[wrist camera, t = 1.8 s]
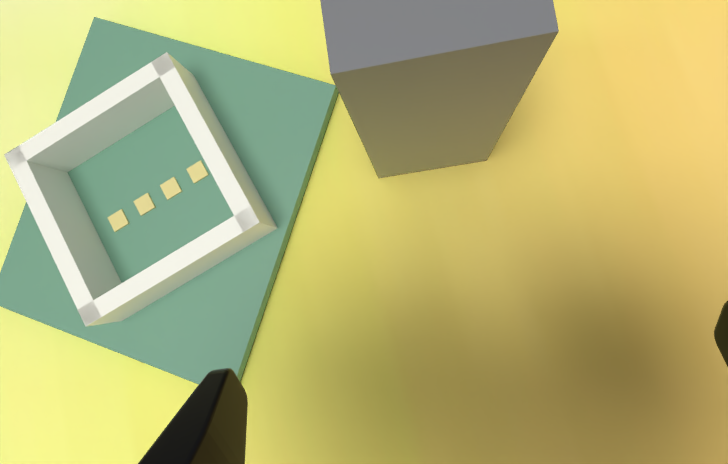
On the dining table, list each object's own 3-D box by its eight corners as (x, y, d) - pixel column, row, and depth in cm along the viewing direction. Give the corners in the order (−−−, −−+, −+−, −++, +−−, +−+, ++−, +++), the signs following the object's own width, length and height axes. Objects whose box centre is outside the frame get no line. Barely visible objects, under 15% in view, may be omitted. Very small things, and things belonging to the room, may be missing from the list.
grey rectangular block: (486, 160, 22) (558, 31, 10) (378, 178, 23) (331, 74, 11) (470, 64, 23) (521, -163, 11) (365, 84, 23) (304, -113, 11)
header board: (338, 91, 23) (325, 62, 20) (236, 392, 23) (205, 412, 19) (104, 25, 25) (57, -12, 22) (3, 301, 25) (-61, 305, 21)
